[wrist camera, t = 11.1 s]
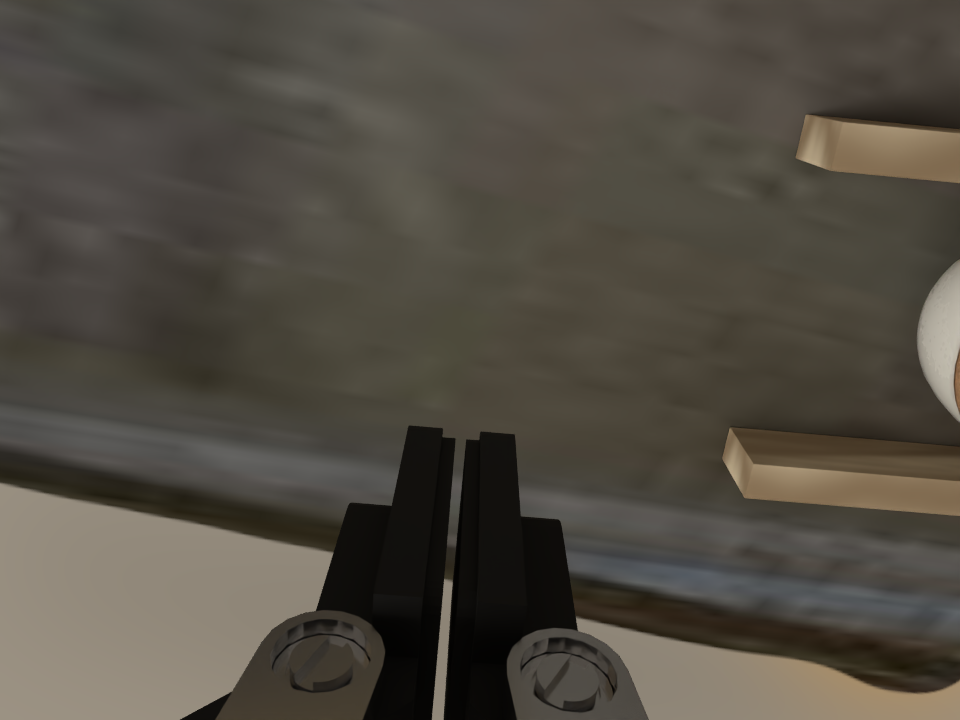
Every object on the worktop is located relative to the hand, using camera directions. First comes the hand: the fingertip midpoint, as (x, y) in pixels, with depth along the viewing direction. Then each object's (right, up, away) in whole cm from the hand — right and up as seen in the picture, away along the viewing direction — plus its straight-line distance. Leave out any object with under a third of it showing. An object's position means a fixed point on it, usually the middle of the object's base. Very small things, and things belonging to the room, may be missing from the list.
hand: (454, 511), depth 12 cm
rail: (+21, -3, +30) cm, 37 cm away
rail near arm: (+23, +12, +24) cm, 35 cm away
